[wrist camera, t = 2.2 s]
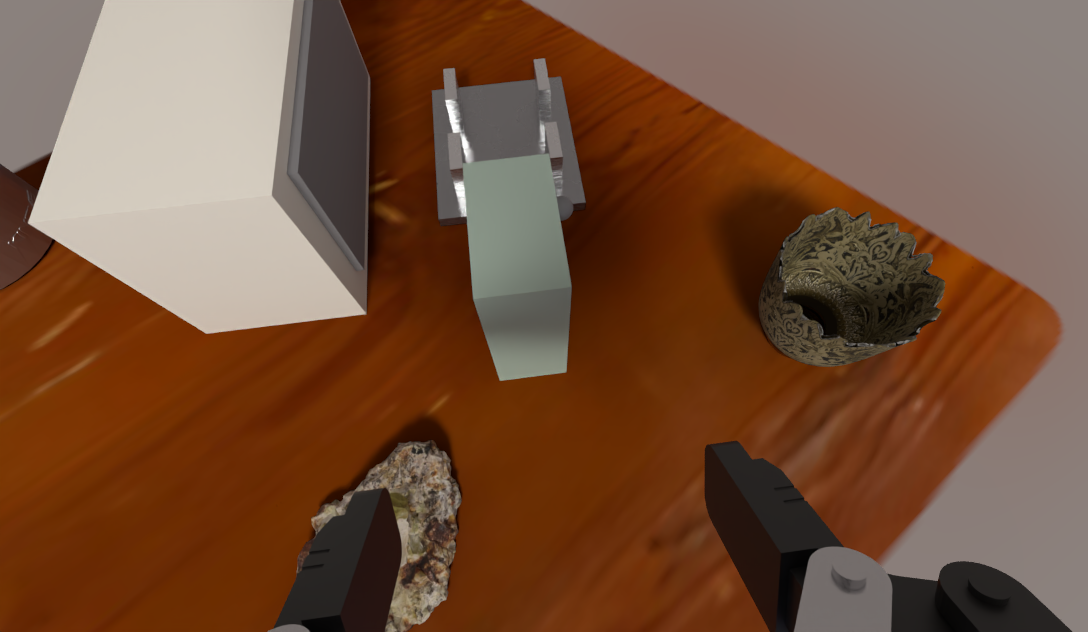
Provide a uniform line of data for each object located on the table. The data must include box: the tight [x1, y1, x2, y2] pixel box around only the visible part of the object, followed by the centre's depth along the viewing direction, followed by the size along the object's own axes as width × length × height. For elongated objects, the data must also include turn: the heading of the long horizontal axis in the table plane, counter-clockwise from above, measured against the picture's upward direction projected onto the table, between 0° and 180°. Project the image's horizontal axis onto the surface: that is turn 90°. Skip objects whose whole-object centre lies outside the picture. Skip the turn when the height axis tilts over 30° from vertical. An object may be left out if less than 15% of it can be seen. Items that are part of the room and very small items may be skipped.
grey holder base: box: [432, 58, 586, 226], centre depth 36 cm, size 10×12×4 cm
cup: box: [759, 207, 945, 367], centre depth 28 cm, size 8×7×8 cm
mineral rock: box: [295, 440, 461, 632], centre depth 26 cm, size 11×4×8 cm
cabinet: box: [28, 0, 370, 334], centre depth 31 cm, size 10×21×12 cm, turn 7°
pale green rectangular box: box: [462, 154, 573, 381], centre depth 27 cm, size 5×7×11 cm
